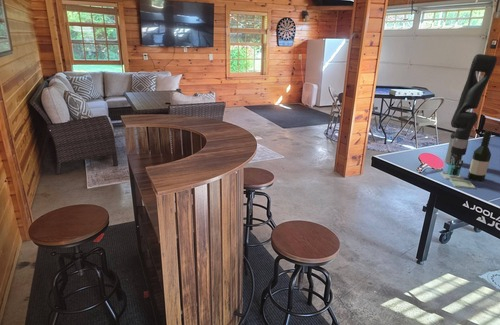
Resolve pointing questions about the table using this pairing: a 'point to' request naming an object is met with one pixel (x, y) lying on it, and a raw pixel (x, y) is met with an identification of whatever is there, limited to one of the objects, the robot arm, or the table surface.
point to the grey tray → (451, 176)
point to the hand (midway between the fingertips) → (453, 173)
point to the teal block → (450, 170)
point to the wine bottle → (480, 159)
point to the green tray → (462, 183)
